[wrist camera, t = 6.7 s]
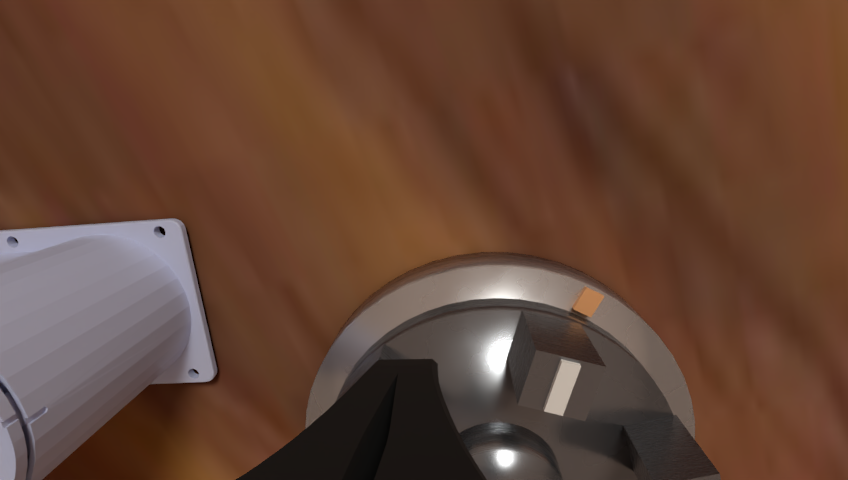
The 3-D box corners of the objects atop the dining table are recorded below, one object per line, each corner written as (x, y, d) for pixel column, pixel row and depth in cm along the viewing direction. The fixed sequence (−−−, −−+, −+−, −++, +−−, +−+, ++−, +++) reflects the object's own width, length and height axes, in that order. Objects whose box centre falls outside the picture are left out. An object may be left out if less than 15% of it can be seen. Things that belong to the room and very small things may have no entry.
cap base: (341, 557, 25) (331, 598, 23) (293, 263, 21) (274, 280, 19) (663, 556, 24) (684, 599, 22) (685, 240, 19) (713, 255, 17)
